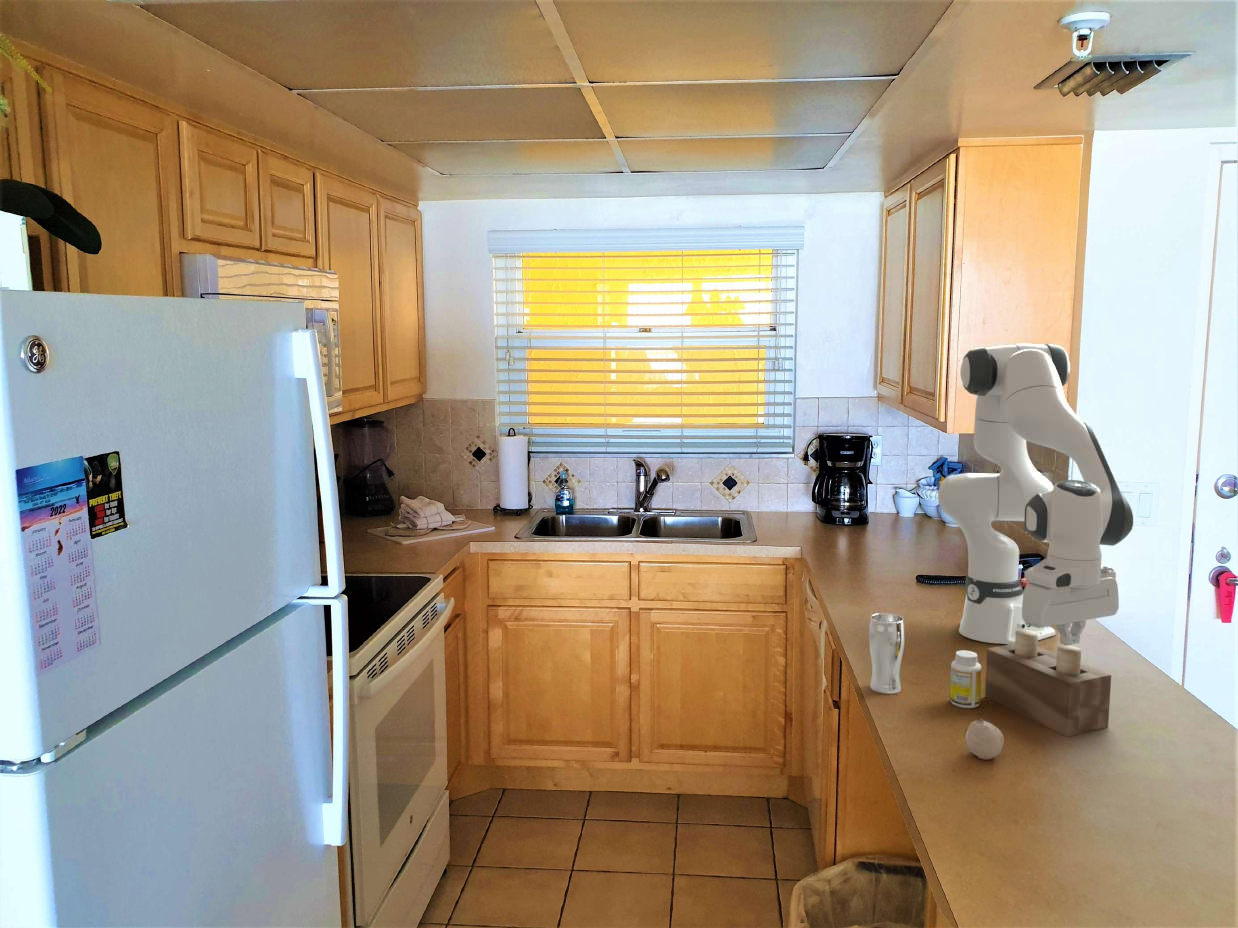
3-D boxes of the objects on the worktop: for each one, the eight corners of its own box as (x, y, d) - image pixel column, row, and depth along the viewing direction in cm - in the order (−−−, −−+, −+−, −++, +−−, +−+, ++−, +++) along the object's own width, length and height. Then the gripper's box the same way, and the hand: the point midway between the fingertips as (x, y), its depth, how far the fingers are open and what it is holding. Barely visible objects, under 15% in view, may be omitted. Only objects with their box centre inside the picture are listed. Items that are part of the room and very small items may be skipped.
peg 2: (1065, 690, 173) (1068, 644, 172) (1083, 697, 169) (1086, 650, 168) (1049, 693, 171) (1052, 647, 170) (1067, 701, 168) (1070, 653, 166)
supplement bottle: (971, 697, 183) (973, 647, 181) (985, 708, 177) (987, 657, 176) (944, 698, 182) (946, 649, 181) (957, 710, 177) (959, 659, 175)
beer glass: (861, 689, 188) (863, 618, 186) (877, 679, 193) (879, 610, 191) (893, 697, 183) (895, 625, 181) (909, 687, 188) (911, 617, 186)
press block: (1023, 688, 187) (1025, 641, 185) (1108, 726, 168) (1111, 674, 167) (984, 696, 183) (986, 648, 182) (1067, 736, 164) (1070, 683, 163)
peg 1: (1024, 672, 182) (1026, 628, 181) (1040, 679, 178) (1042, 634, 177) (1009, 675, 181) (1011, 631, 179) (1024, 682, 177) (1027, 637, 176)
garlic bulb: (955, 751, 159) (957, 708, 158) (983, 744, 162) (985, 701, 161) (984, 767, 153) (986, 722, 152) (1013, 760, 156) (1015, 715, 155)
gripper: (1100, 560, 174) (1096, 631, 175) (1017, 572, 166) (1014, 646, 168) (1130, 568, 168) (1125, 641, 170) (1045, 580, 160) (1041, 656, 162)
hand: (1069, 643), depth 169 cm, fingers closed
